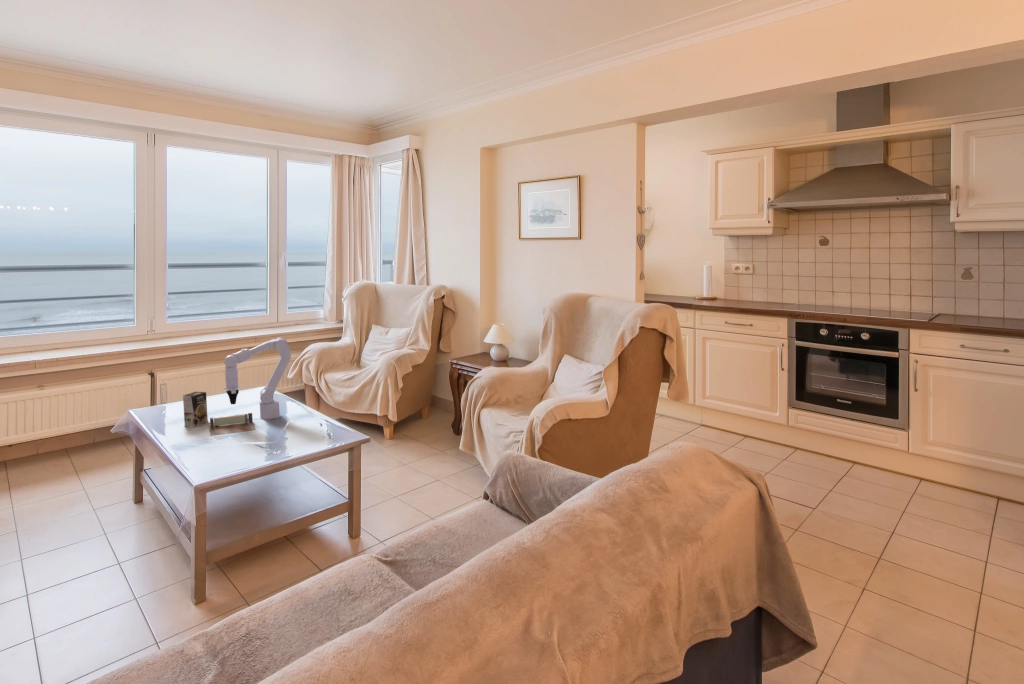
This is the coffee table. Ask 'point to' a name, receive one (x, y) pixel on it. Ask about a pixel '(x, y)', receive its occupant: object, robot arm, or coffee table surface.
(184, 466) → the coffee table surface
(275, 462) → the coffee table surface
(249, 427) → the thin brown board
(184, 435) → the coffee table surface
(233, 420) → the gate
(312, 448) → the coffee table surface
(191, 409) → the coffee box
